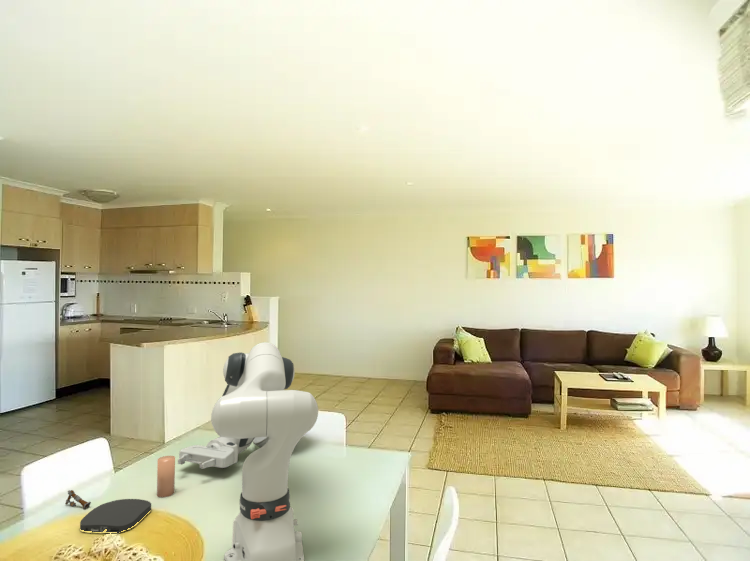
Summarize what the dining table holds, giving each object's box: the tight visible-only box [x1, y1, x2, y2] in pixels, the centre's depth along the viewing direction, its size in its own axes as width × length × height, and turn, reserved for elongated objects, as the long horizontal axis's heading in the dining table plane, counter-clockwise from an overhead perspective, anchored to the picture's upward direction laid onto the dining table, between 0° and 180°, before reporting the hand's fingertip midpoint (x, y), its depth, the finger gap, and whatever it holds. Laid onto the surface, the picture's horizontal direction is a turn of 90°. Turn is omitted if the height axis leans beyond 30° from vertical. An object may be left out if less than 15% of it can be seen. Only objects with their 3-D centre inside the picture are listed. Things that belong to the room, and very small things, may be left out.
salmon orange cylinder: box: [156, 455, 176, 498], centre depth 139 cm, size 5×5×11 cm
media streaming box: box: [79, 498, 152, 534], centre depth 123 cm, size 15×15×3 cm
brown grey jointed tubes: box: [64, 489, 92, 510], centre depth 130 cm, size 2×8×4 cm, turn 76°
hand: (190, 464), depth 148 cm, fingers open, 8 cm apart
